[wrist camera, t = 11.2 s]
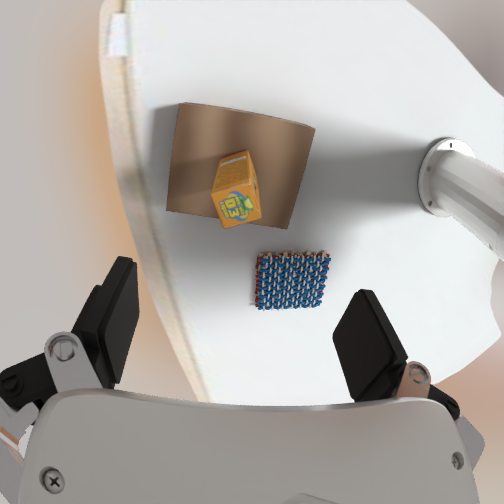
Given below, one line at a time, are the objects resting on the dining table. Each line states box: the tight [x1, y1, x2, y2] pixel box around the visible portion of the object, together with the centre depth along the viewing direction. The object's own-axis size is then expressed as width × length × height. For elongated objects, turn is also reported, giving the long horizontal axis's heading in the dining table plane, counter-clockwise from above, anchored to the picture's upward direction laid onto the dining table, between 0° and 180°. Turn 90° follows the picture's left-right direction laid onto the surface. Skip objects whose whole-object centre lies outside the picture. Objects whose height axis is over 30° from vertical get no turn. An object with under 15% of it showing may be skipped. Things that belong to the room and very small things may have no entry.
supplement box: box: [211, 150, 261, 228], centre depth 24 cm, size 3×3×10 cm
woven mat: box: [255, 251, 331, 311], centre depth 41 cm, size 10×11×2 cm
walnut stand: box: [166, 102, 315, 229], centre depth 30 cm, size 14×12×4 cm
